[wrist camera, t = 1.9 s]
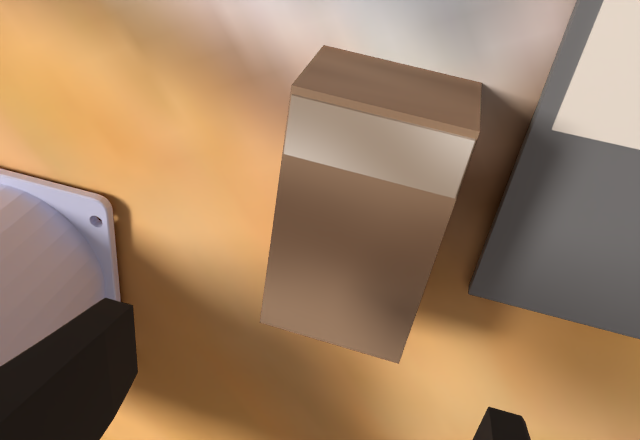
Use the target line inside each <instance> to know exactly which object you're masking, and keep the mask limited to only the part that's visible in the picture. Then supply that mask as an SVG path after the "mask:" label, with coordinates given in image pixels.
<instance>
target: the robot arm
mask: <svg viewBox="0 0 640 440" xmlns="http://www.w3.org/2000/svg"><path fill="white" fill-rule="evenodd" d="M96 216H97V217H99V218H100V219H101V220H102V221H100V220H99V219H98V218H97V217H96ZM137 373H138V368H137V354H136V341H135V327H134V314H133V305H130V304H126V303H123V302H121V299H120V287H119V276H118V265H117V253H116V242H115V231H114V220H113V209H112V205H111V203H110V202H109V200H108V199H106V198H105V197H104V196H102V195H99V194H96V193H92V192H88V191H84V190H81V189H77V188H73V187H69V186H65V185H62V184H58V183H54V182H50V181H46V180H42V179H39V178H35V177H31V176H27V175H23V174H20V173H16V172H12V171H8V170H4V169H0V440H100V438H101V437H102V435H103V434H104V432H105V431H106V429H107V428H108V426H109V425H110V423H111V422H112V420H113V419H114V417H115V415H116V414H117V412H118V410H119V408H120V406H121V404H122V402H123V400H124V399H125V397H126V395H127V393H128V391H129V389H130V387H131V385H132V383H133V381H134V379H135V377H136V375H137ZM473 440H531V439H530V436H529V433H528V430H527V426H526V423H525V421H524V419H523V418H522V416H520V415H516V414H513V413H509V412H506V411H502V410H499V409H495V408H491V407H488V409H487V411H486V413H485V415H484V417H483V419H482V421H481V423H480V425H479V427H478V430H477V432H476V434H475V436H474V438H473Z"/></svg>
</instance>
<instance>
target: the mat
mask: <svg viewBox="0 0 640 440" xmlns="http://www.w3.org/2000/svg"><path fill="white" fill-rule="evenodd" d="M468 294H470V295H474V296H478V297H481V298H485V299H489V300H493V301H497V302H500V303H504V304H508V305H512V306H516V307H519V308H523V309H527V310H531V311H535V312H538V313H542V314H546V315H550V316H554V317H557V318H561V319H565V320H569V321H573V322H576V323H580V324H584V325H588V326H592V327H595V328H599V329H603V330H607V331H611V332H614V333H618V334H622V335H626V336H630V337H634V338H637V339H640V0H577V2H576V4H575V7H574V10H573V12H572V15H571V18H570V20H569V23H568V25H567V28H566V31H565V33H564V36H563V39H562V41H561V44H560V47H559V49H558V52H557V54H556V57H555V60H554V62H553V65H552V68H551V70H550V73H549V76H548V78H547V81H546V83H545V86H544V89H543V91H542V94H541V97H540V99H539V102H538V105H537V107H536V110H535V113H534V115H533V118H532V120H531V123H530V126H529V128H528V131H527V134H526V136H525V139H524V142H523V144H522V147H521V149H520V152H519V155H518V157H517V160H516V163H515V165H514V168H513V171H512V173H511V176H510V179H509V181H508V184H507V186H506V189H505V192H504V194H503V197H502V200H501V202H500V205H499V208H498V210H497V213H496V215H495V218H494V221H493V223H492V226H491V229H490V231H489V234H488V237H487V239H486V242H485V244H484V247H483V250H482V252H481V255H480V258H479V260H478V263H477V266H476V268H475V271H474V274H473V276H472V279H471V281H470V284H469V288H468Z"/></svg>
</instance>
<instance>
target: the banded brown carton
mask: <svg viewBox="0 0 640 440" xmlns="http://www.w3.org/2000/svg"><path fill="white" fill-rule="evenodd" d="M481 86H482V83H480V82H476V81H472V80H468V79H463V78H459V77H455V76H451V75H447V74H442V73H438V72H434V71H430V70H426V69H421V68H417V67H413V66H409V65H405V64H400V63H396V62H392V61H388V60H384V59H379V58H375V57H371V56H367V55H363V54H359V53H354V52H350V51H346V50H342V49H338V48H333V47H329V46H325V45H323V47H322V48H321V49H320V50H319V52H318V53H317V54H316V55H315V57H314V58H313V59H312V60H311V62H310V63H309V64H308V65H307V67H306V68H305V69H304V70H303V72H302V73H301V74H300V75H299V77H298V78H297V79H296V80H295V82H294V83H293V84H292V86H291V94H290V101H289V109H288V116H287V124H286V131H285V139H284V146H283V154H282V161H281V169H280V176H279V184H278V191H277V199H276V206H275V214H274V221H273V229H272V236H271V244H270V251H269V258H268V266H267V273H266V281H265V288H264V296H263V303H262V311H261V318H260V323H263V324H266V325H270V326H273V327H276V328H280V329H283V330H287V331H290V332H293V333H297V334H300V335H303V336H307V337H310V338H314V339H317V340H320V341H324V342H327V343H330V344H334V345H337V346H341V347H344V348H347V349H351V350H354V351H358V352H361V353H364V354H368V355H371V356H374V357H378V358H381V359H385V360H388V361H391V362H395V363H398V364H399V361H400V358H401V356H402V353H403V350H404V347H405V344H406V341H407V338H408V336H409V333H410V330H411V327H412V324H413V321H414V319H415V316H416V313H417V310H418V307H419V304H420V301H421V299H422V296H423V293H424V290H425V287H426V284H427V281H428V279H429V276H430V273H431V270H432V267H433V264H434V262H435V259H436V256H437V253H438V250H439V247H440V244H441V242H442V239H443V236H444V233H445V230H446V227H447V224H448V222H449V219H450V216H451V213H452V210H453V207H454V205H455V202H456V199H457V196H458V193H459V190H460V187H461V185H462V182H463V179H464V176H465V173H466V170H467V167H468V165H469V162H470V159H471V156H472V153H473V150H474V148H475V145H476V142H477V139H478V136H479V133H480V117H481Z"/></svg>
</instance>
